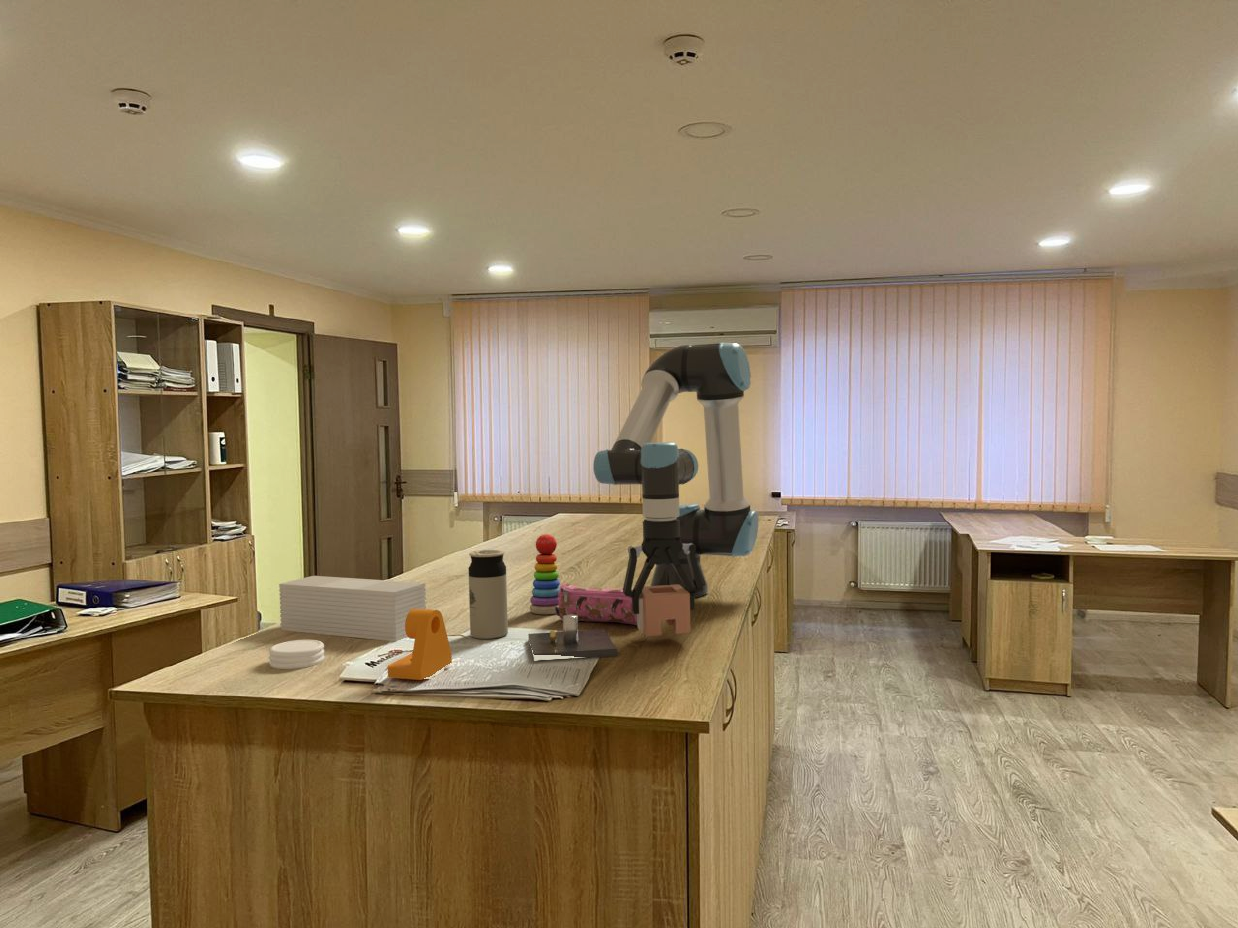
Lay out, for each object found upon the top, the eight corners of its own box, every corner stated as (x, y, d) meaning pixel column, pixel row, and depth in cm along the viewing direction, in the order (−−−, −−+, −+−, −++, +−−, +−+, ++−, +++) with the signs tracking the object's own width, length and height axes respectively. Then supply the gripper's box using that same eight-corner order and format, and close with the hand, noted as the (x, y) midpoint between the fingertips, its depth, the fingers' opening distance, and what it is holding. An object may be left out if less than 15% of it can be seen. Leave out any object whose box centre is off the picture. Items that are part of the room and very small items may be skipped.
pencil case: (552, 624, 192) (551, 585, 191) (570, 615, 200) (569, 578, 200) (639, 631, 183) (638, 590, 183) (655, 622, 192) (654, 583, 191)
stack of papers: (280, 630, 191) (279, 583, 191) (315, 620, 201) (313, 575, 200) (396, 642, 178) (394, 591, 178) (426, 630, 188) (425, 582, 188)
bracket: (417, 664, 160) (415, 602, 160) (451, 667, 158) (449, 603, 158) (385, 681, 150) (383, 614, 150) (421, 684, 148) (419, 616, 147)
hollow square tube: (679, 621, 179) (678, 584, 178) (690, 632, 170) (689, 593, 169) (638, 624, 177) (637, 586, 177) (646, 635, 168) (645, 596, 168)
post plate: (528, 640, 176) (527, 609, 176) (604, 636, 179) (603, 605, 179) (533, 661, 161) (533, 627, 160) (616, 656, 163) (616, 622, 163)
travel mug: (507, 629, 187) (504, 548, 186) (508, 638, 179) (506, 553, 178) (470, 631, 185) (468, 550, 184) (470, 640, 177) (467, 555, 177)
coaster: (296, 654, 170) (295, 637, 170) (335, 658, 167) (335, 641, 166) (257, 667, 161) (257, 649, 161) (298, 672, 157) (297, 654, 157)
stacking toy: (558, 615, 199) (556, 536, 198) (525, 614, 201) (523, 536, 200) (566, 608, 207) (564, 532, 206) (535, 607, 209) (533, 532, 208)
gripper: (707, 513, 177) (710, 619, 179) (605, 518, 174) (608, 626, 175) (718, 517, 170) (720, 628, 171) (611, 523, 166) (614, 635, 168)
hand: (663, 627), depth 173 cm, fingers closed on hollow square tube, 9 cm apart
